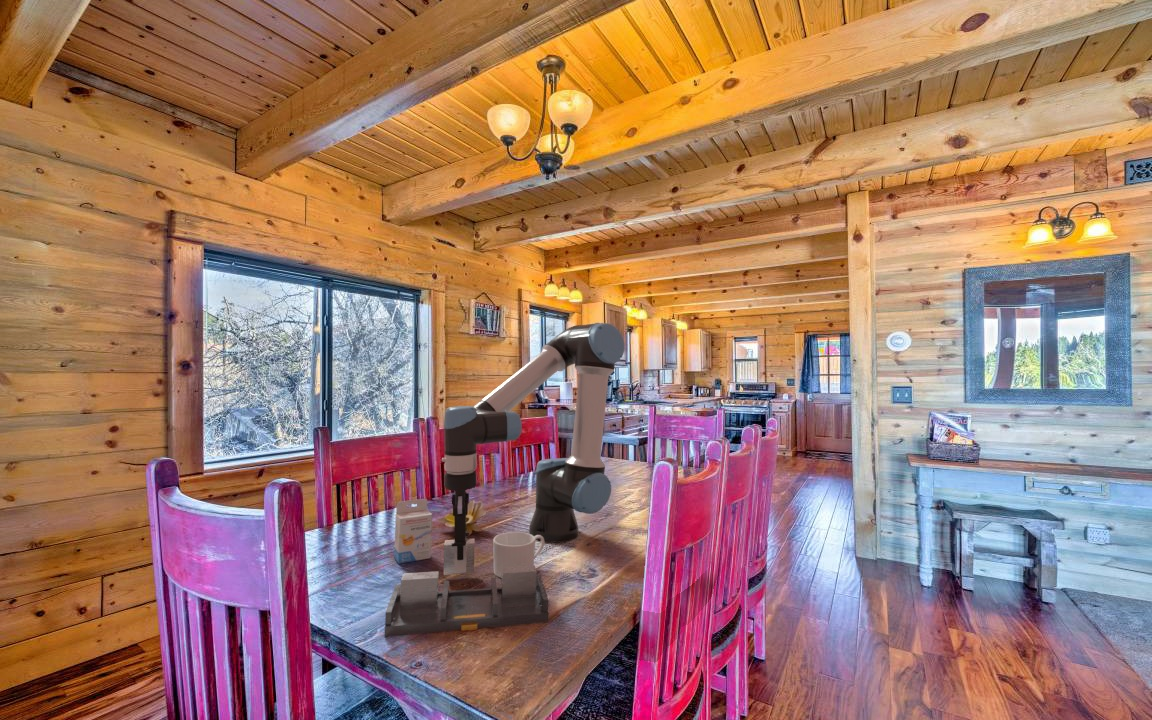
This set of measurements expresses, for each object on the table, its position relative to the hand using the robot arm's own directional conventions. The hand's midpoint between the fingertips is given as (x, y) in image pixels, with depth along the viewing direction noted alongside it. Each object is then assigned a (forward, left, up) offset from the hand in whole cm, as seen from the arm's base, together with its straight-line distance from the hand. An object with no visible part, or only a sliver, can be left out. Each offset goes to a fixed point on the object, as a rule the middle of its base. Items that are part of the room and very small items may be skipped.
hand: (460, 568), depth 115 cm
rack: (-2, +17, -2) cm, 17 cm away
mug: (-14, -3, -3) cm, 15 cm away
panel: (0, 0, -1) cm, 1 cm away
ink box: (+13, -15, -3) cm, 20 cm away
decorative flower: (+1, -35, -3) cm, 35 cm away
